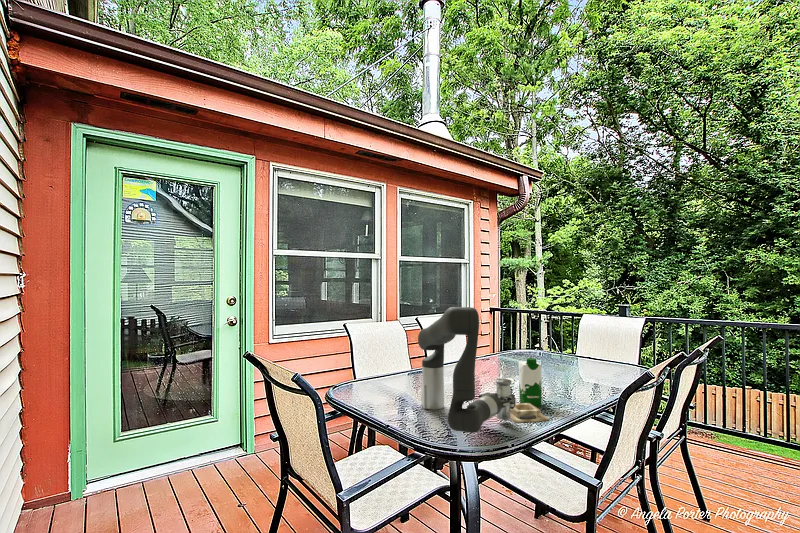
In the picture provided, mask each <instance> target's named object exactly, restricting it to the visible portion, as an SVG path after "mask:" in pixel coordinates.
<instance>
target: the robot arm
mask: <svg viewBox="0 0 800 533" xmlns="http://www.w3.org/2000/svg"><path fill="white" fill-rule="evenodd" d="M479 330H480V317H479V312H478V310H477V309H476V308H475V307H469V306H468V307H466V306H464V307H463V306H451V307H448V308H447V309H446V310H445V311H444V313H443V314H442V315H441V317H440V318H438V319H436V321H434V322H433V323H431V324H430V325H428V327H426V328H422V329H421V330H420V331H419V333H418V335H417V342H418V346H419V348H420V349H421V350H423V351H433V353H432V354H431V355H428V356H426V357H424V358H423V359H422V361H421V370H422V372H421V374H422V376H421V377H422V382H421V386H420V391H421V398H420V399H421V407H423V409H424V410H441V409H443V408H445V378H444V375H445V374H444V373H445V369H444V368H445V366H444V365H445V364H444V361H445V344H448V343H449V342H451V341H452V340H454V338H455V337H456V336H466V337H467V338H466V344H465V347H464V350H463V352H462V354H461V356H460V358H458V361H457V362H456V365H455V367H454V369H453V374H452V398H451V402H450V406H449V408H448V409H449V410H448V413H447V423H448V425H449V427H450V428H449V429H451V430H452V431H455V432H462V433H469V434H474V433H477V432H479V431H480V430H481V428H482V425H483V424H484V422H486V421H487V420H488V421H489V420H490V419H492V418H494V417H496V416H497V414H498V413H499V412H500V411H501V409H502V408H504V407H506V406H509V407H510V409H514V407H515V405H516V404H517V402H516V400H517V399H516V396H515V394H512V393H510V396H501V397H500V396H497V391H496V392H485V393H481V394H479V395H478V398H477V399H476V400H475V401H473V400H474V399H475V397H476V390H475V389H476V383H475V381H476V379H475V374H476V373H475V371H476V360H477V350H478V342H479V332H480V331H479ZM470 401H472V402H471V403H469V404H468V405H467V407H466V408H464V407H463V406H464V403H465V402H470Z"/></svg>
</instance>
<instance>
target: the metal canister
mask: <svg viewBox="0 0 800 533" xmlns="http://www.w3.org/2000/svg"><path fill="white" fill-rule="evenodd" d="M495 383H496V392H497V396H500V397H501V396H510V395H511V385H512V380H511V379H508V378H496V379H495ZM496 418H497V420H500V421H509V420H511V419H510V407H509V406H506V407H504V408H502V409H501V411H500V412H499V413H498V414H497V415H496Z"/></svg>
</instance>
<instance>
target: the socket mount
mask: <svg viewBox="0 0 800 533" xmlns="http://www.w3.org/2000/svg"><path fill="white" fill-rule="evenodd" d="M509 420H510V421H512V422H513V423H517V424H518V423H531V422H532V423H533V422H547V421H548V422H549V421H550V418H549V417H548V416H547V415H545V414H544V413H542V412H541V409H539V407H535V406H533V405H532V404H530V403H516V405H515V407H514V409H510V419H509Z"/></svg>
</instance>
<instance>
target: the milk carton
mask: <svg viewBox="0 0 800 533" xmlns="http://www.w3.org/2000/svg"><path fill="white" fill-rule="evenodd" d="M518 384H519V385H518V387H519V388H518V389H519V390H518V391H519V392H518V393H519V404H521V403H530V404H532V405H533V406H535V407H536V408H541V407H542V406H543V404H542V402H543V400H542V398H543V394H542V388H543V387H542V364H541V363H540V362H538V361H537V358H534V357H533V358H532V357H528V358H526V361H520V360H518Z"/></svg>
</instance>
